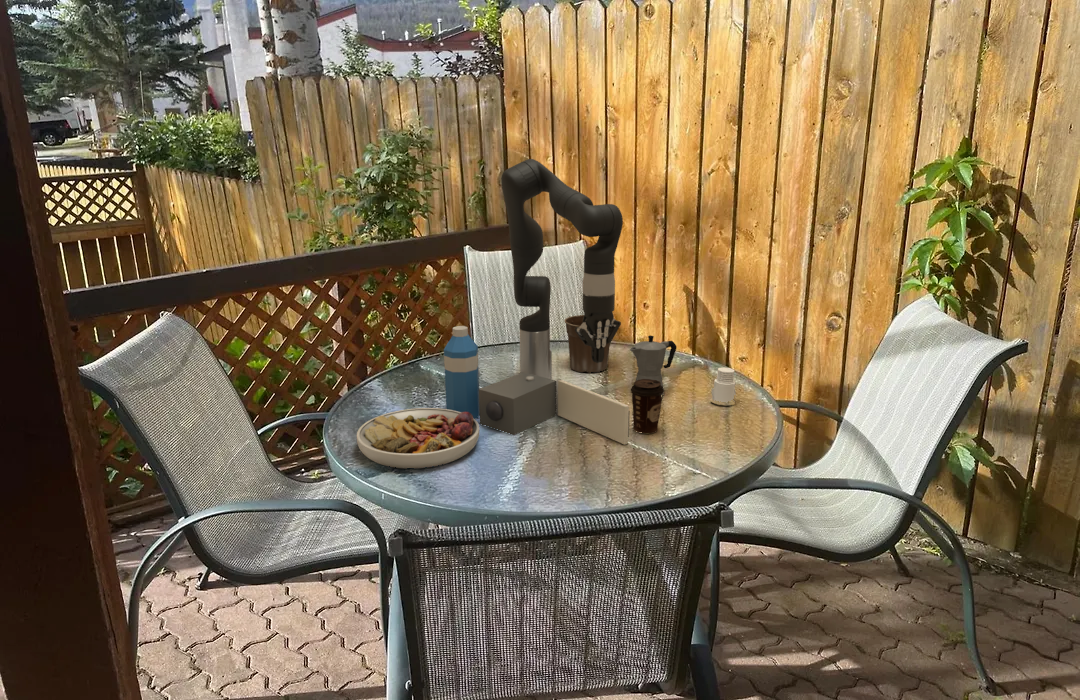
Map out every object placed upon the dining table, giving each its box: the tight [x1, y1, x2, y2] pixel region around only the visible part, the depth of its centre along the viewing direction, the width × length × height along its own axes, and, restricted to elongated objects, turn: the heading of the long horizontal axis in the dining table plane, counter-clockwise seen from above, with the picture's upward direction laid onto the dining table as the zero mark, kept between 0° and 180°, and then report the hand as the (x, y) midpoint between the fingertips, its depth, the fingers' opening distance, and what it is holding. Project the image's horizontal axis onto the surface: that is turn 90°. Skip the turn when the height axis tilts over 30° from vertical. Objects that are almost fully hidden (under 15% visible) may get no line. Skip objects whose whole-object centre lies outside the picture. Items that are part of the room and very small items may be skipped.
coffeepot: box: [629, 335, 677, 395], centre depth 224 cm, size 15×9×18 cm, turn 113°
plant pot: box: [564, 314, 611, 374], centre depth 249 cm, size 16×16×16 cm
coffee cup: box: [630, 379, 665, 434], centre depth 199 cm, size 9×8×13 cm
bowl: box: [356, 407, 480, 469], centre depth 190 cm, size 30×30×8 cm
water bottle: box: [443, 325, 480, 420], centre depth 207 cm, size 9×9×25 cm
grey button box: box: [479, 372, 557, 436], centre depth 206 cm, size 19×12×11 cm, turn 141°
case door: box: [555, 378, 630, 445], centre depth 200 cm, size 27×2×10 cm, turn 39°
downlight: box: [710, 367, 737, 402], centre depth 218 cm, size 8×7×10 cm
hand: (597, 361), depth 184 cm, fingers closed
